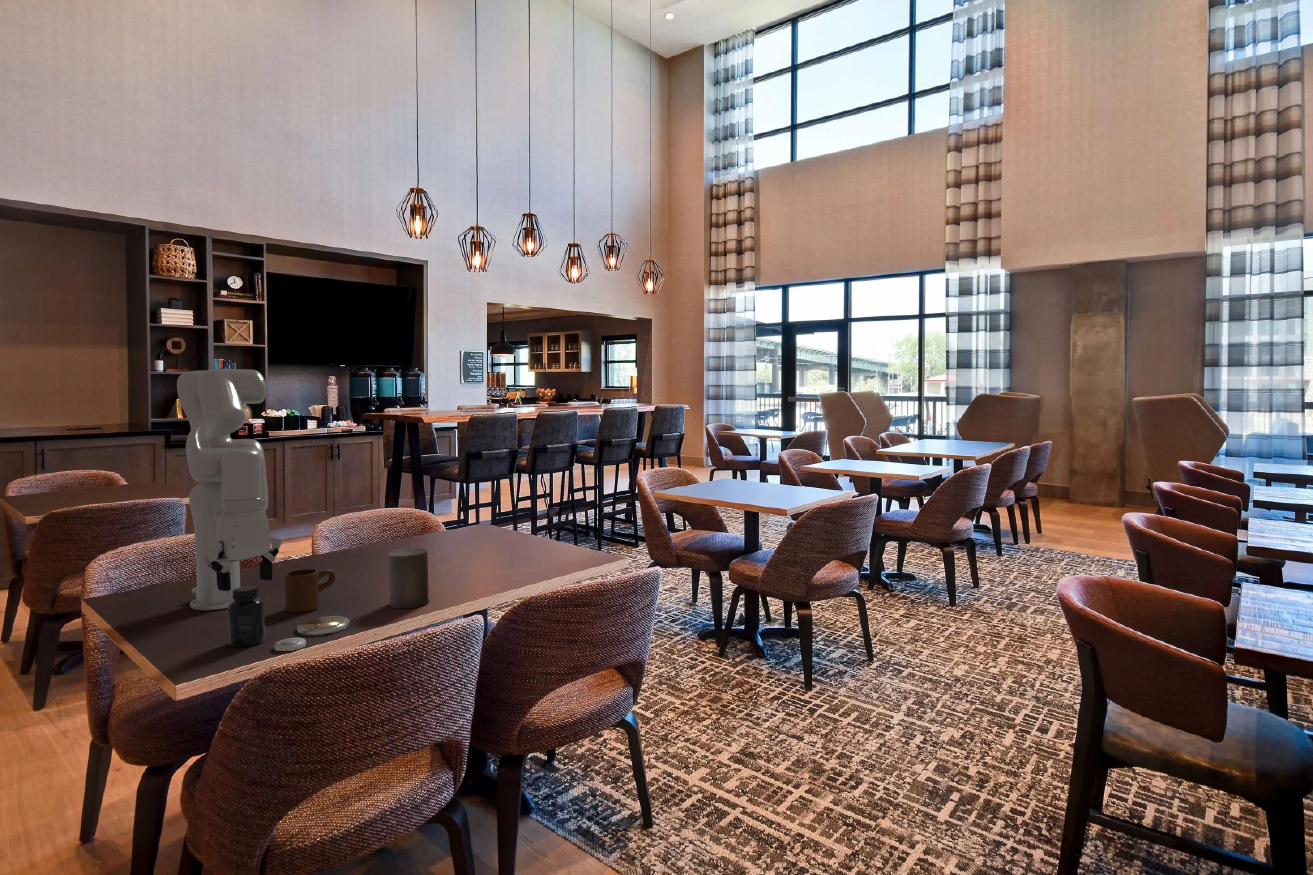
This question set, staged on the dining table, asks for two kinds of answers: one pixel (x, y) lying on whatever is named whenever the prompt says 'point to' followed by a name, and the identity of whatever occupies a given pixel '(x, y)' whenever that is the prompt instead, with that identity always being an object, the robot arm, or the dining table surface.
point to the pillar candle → (408, 578)
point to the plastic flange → (290, 644)
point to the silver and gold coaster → (323, 625)
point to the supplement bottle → (246, 618)
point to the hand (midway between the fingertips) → (245, 584)
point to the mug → (305, 589)
